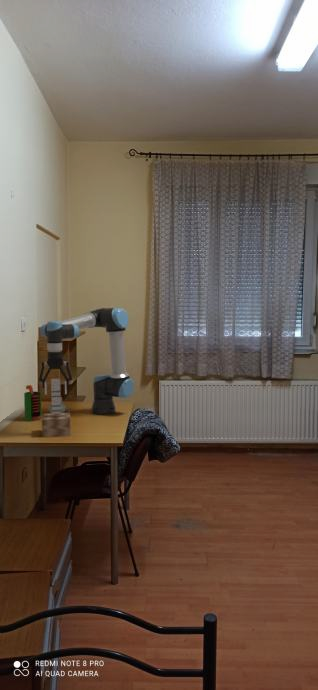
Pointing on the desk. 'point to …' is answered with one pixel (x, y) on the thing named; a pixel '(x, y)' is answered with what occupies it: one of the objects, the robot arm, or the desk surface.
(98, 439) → the desk surface
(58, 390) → the column
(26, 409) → the motor
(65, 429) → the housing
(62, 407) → the air freshener
